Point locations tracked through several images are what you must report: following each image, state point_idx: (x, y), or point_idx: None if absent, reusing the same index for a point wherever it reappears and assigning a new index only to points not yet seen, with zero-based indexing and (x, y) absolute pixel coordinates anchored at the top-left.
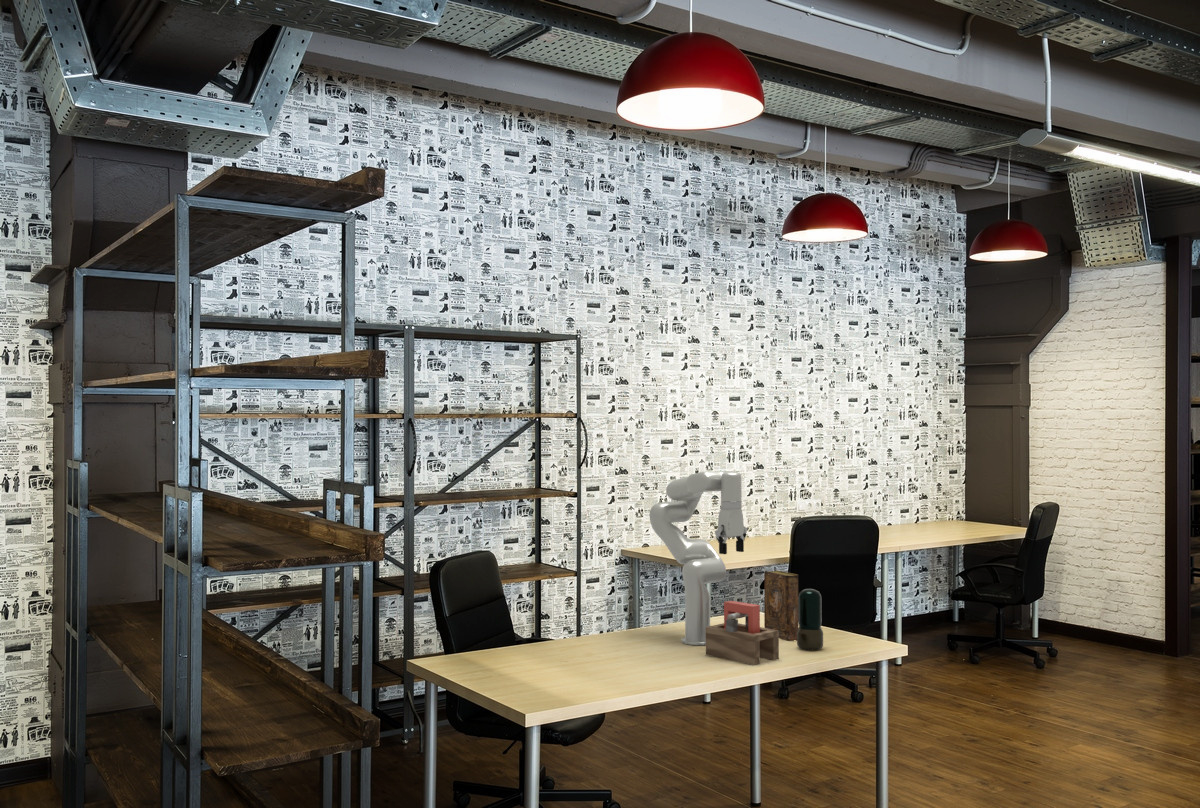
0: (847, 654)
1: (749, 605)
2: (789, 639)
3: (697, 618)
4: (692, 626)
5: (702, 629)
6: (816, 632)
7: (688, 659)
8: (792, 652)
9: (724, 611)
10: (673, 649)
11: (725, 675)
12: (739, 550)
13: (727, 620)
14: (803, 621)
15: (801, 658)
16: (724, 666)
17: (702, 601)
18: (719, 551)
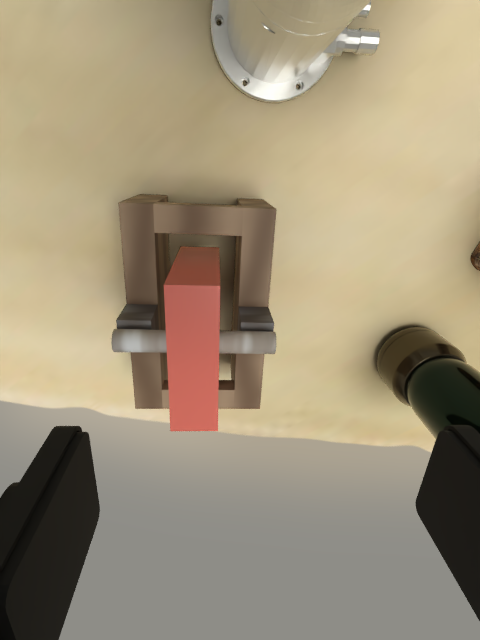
0: (394, 436)
1: (180, 410)
2: (474, 263)
3: (244, 29)
4: (230, 16)
5: (256, 64)
6: (410, 406)
7: (51, 193)
8: (338, 347)
9: (169, 273)
10: (113, 39)
11: (15, 375)
12: (431, 484)
13: (117, 326)
14: (415, 398)
15: (293, 395)
16: (79, 321)
17: (276, 18)
18: (46, 449)
